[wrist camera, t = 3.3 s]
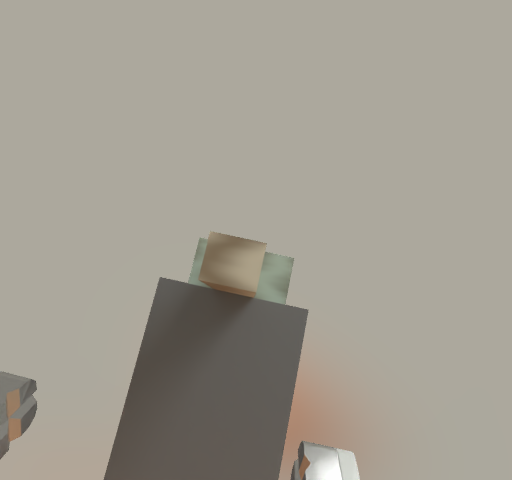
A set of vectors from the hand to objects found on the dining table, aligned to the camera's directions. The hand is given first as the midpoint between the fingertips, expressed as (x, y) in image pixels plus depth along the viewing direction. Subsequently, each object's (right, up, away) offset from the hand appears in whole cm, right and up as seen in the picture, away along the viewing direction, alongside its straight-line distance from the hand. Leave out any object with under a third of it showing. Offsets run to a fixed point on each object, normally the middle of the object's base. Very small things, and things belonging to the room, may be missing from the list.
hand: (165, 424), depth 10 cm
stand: (-5, -25, +19) cm, 32 cm away
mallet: (+1, +1, +19) cm, 19 cm away
